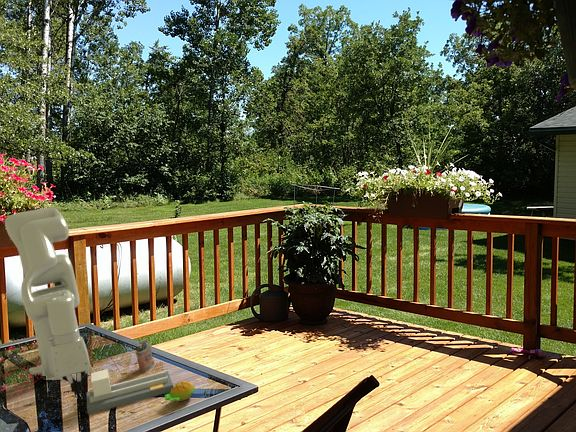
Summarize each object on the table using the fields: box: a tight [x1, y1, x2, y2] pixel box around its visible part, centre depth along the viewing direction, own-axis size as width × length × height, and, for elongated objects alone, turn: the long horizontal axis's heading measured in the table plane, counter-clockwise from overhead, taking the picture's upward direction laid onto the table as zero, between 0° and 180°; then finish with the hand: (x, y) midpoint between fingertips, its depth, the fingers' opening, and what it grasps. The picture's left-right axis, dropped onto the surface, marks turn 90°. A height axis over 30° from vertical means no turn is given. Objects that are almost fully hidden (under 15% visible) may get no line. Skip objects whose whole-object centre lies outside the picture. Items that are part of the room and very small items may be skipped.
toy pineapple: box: [164, 380, 196, 403], centre depth 166 cm, size 7×10×5 cm
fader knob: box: [90, 368, 111, 397], centre depth 172 cm, size 5×7×6 cm
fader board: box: [86, 370, 174, 415], centre depth 175 cm, size 26×12×4 cm, turn 110°
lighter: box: [135, 337, 155, 374], centre depth 193 cm, size 8×3×10 cm, turn 168°
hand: (77, 392), depth 169 cm, fingers closed
